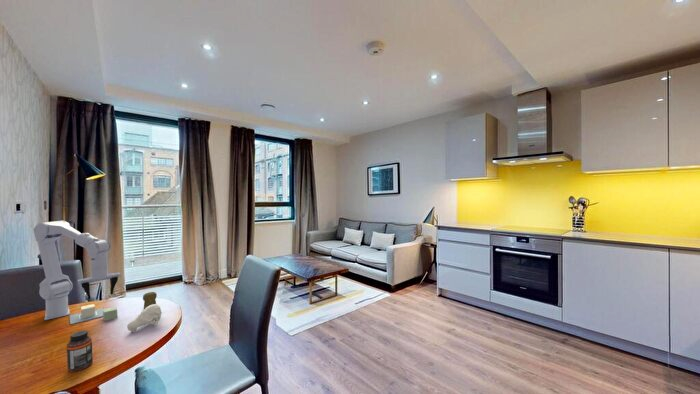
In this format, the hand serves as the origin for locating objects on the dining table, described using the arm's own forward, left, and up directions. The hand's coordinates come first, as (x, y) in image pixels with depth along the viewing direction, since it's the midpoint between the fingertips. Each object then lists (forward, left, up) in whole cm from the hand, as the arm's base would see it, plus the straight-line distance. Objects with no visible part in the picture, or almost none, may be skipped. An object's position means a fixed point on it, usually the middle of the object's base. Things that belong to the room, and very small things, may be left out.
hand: (100, 296), depth 128 cm
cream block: (-6, -4, -9) cm, 12 cm away
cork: (+16, +16, -10) cm, 25 cm away
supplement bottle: (+44, -8, -10) cm, 46 cm away
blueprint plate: (-6, -4, -10) cm, 12 cm away
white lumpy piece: (+27, +12, -10) cm, 31 cm away
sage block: (+4, +3, -10) cm, 11 cm away
